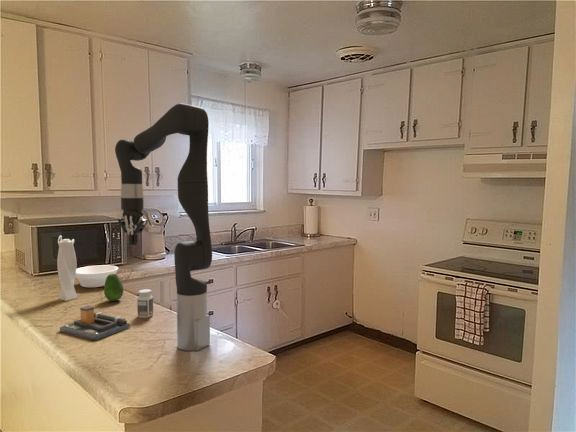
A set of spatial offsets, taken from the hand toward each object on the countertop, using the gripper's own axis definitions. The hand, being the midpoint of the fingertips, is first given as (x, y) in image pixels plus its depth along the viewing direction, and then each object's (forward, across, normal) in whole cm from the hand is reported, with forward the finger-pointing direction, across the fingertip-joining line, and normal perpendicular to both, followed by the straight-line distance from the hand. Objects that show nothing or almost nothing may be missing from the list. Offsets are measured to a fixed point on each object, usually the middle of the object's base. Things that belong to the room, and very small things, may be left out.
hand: (133, 244), depth 145 cm
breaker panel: (+29, +7, +11) cm, 32 cm away
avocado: (+29, +30, -16) cm, 45 cm away
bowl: (+29, +61, -31) cm, 74 cm away
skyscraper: (+29, +51, -9) cm, 59 cm away
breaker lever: (+27, +11, +11) cm, 32 cm away
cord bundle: (+28, +7, +5) cm, 29 cm away
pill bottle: (+29, +3, -8) cm, 30 cm away
